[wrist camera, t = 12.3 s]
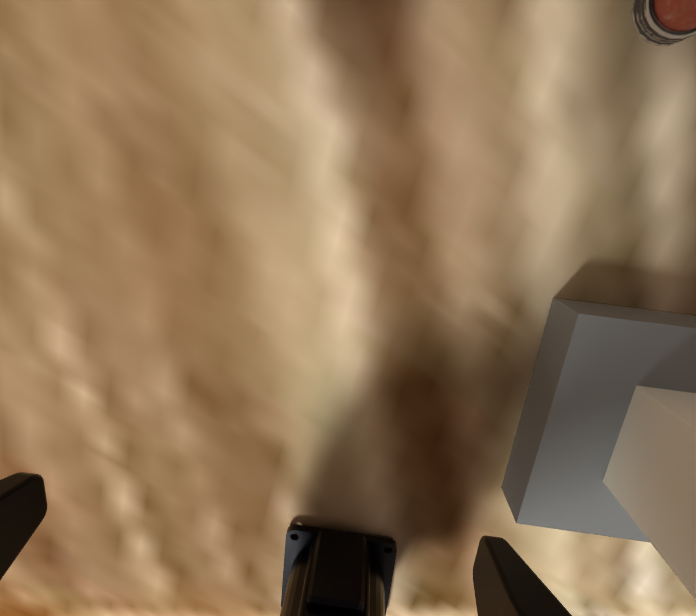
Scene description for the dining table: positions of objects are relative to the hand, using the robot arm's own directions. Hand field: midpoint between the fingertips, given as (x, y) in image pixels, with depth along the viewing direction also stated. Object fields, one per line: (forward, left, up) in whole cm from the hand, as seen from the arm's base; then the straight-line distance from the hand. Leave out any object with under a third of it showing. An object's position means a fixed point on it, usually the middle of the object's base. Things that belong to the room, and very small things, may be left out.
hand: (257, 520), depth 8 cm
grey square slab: (-3, -16, -13) cm, 21 cm away
